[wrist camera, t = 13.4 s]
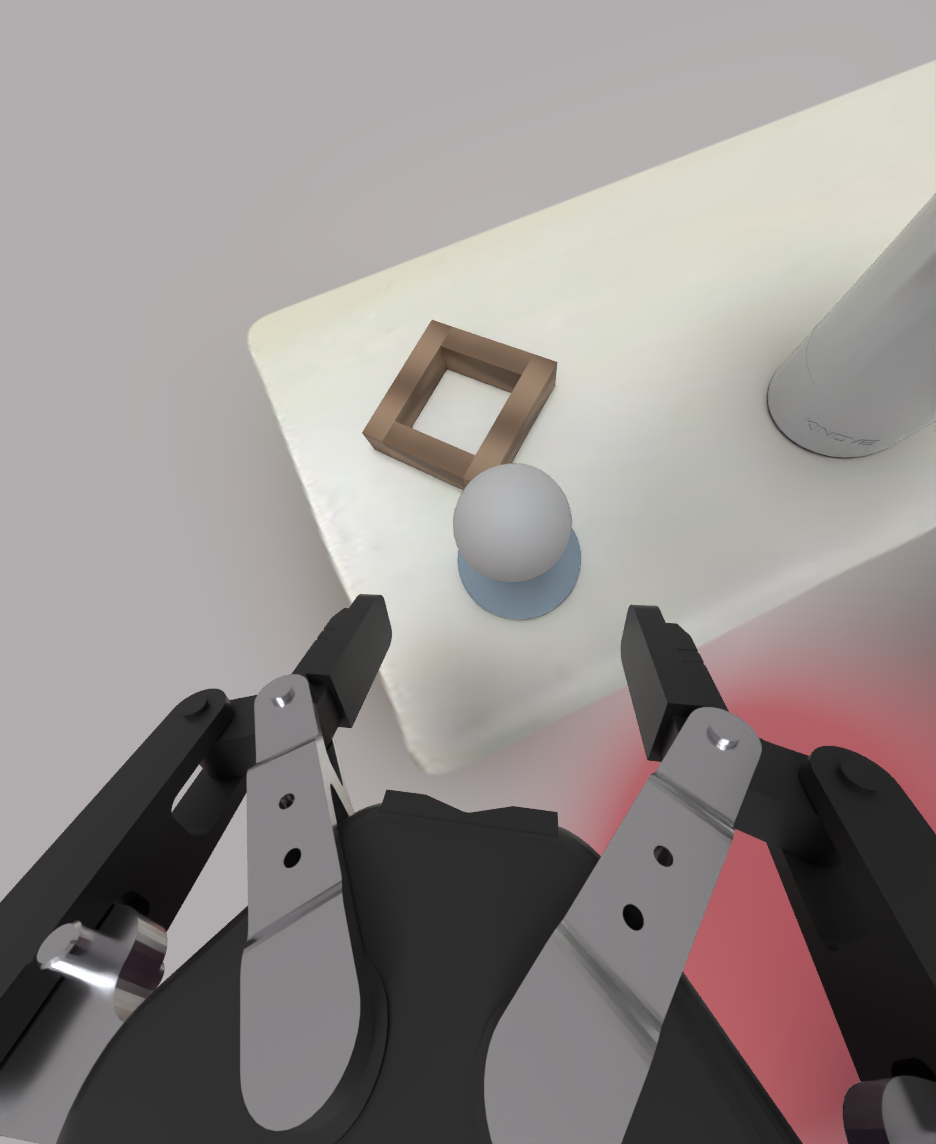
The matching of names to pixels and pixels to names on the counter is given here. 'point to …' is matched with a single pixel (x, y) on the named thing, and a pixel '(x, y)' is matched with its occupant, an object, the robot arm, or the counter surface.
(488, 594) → the pad
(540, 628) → the counter surface
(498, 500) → the lightbulb
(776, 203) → the counter surface
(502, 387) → the frame
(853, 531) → the counter surface
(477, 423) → the counter surface
